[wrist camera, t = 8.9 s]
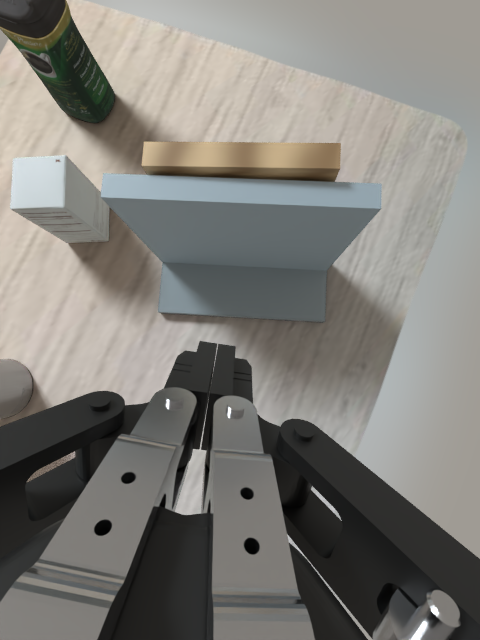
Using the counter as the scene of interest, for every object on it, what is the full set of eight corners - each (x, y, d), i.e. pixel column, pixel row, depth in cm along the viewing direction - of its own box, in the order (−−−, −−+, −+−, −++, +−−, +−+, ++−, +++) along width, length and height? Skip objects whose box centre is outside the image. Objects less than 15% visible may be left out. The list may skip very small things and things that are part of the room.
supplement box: (68, 202, 53) (11, 155, 40) (111, 201, 53) (67, 153, 40) (66, 244, 52) (7, 209, 40) (109, 243, 52) (64, 207, 39)
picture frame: (182, 230, 44) (141, 165, 29) (184, 214, 44) (144, 141, 29) (312, 234, 42) (340, 168, 27) (313, 218, 42) (340, 143, 28)
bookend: (160, 313, 50) (90, 280, 28) (166, 251, 51) (103, 173, 29) (322, 322, 49) (380, 295, 27) (325, 258, 50) (381, 183, 28)
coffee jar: (123, 92, 55) (58, -40, 37) (103, 130, 54) (27, 15, 36) (75, 75, 56) (-12, -64, 37) (55, 112, 55) (-43, -10, 37)
